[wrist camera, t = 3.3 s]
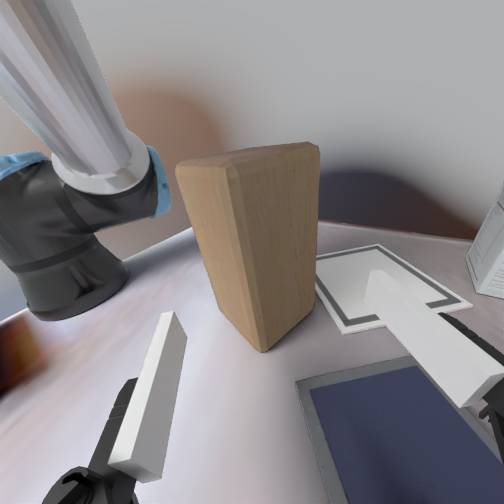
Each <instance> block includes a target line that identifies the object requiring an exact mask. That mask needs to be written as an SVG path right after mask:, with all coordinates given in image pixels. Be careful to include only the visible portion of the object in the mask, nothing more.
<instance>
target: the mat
mask: <svg viewBox="0 0 504 504" xmlns="http://www.w3.org/2000/svg"><path fill="white" fill-rule="evenodd" d="M379 269H382V270H383V271H384V272H386V273H387V274H388V275H389V276H391V277H392V278H393V279H394V280H396V281H397V282H398V283H399V284H401V285H402V286H403V287H404V288H406V289H407V290H408V291H409V292H411V293H412V294H413V295H414V296H416V297H417V298H418V299H419V300H421V301H422V302H423V303H424V304H426V305H427V306H428V307H430V308H431V309H432V310H433V311H435V312H436V313H440V312H443V313H450V312H455V311H459V310H464V309H469V308H472V307H473V306H474V305H472V304H471V303H469V302H468V301H466V300H465V299H463V298H461V297H460V296H458V295H457V294H455V293H454V292H452V291H451V290H449V289H448V288H446V287H445V286H443V285H441V284H440V283H438V282H437V281H435V280H434V279H432V278H431V277H429V276H428V275H426V274H425V273H423V272H421V271H420V270H418V269H417V268H415V267H414V266H412V265H411V264H409V263H408V262H406V261H405V260H403V259H401V258H400V257H398V256H397V255H395V254H394V253H392V252H391V251H389V250H388V249H386V248H385V247H383V246H381V245H380V244H374V245H369V246H364V247H359V248H354V249H348V250H343V251H338V252H333V253H328V254H323V255H318V256H316V280H315V291H316V293H317V294H318V296H319V298H320V299H321V301H322V303H323V304H324V306H325V307H326V309H327V311H328V312H329V314H330V315H331V317H332V319H333V320H334V322H335V323H336V325H337V327H338V328H339V330H340V331H341V333H342V335H347V334H352V333H356V332H361V331H366V330H370V329H375V328H380V327H384V326H386V325H385V324H384V323H383V322H382V321H381V320H380V319H379V317H378V316H377V315H376V314H375V313H374V312H373V311H372V310H371V308H370V307H369V306H368V305H367V304H366V303H365V302H364V298H365V293H366V289H367V284H368V279H369V275H370V271H374V270H379Z"/></svg>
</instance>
